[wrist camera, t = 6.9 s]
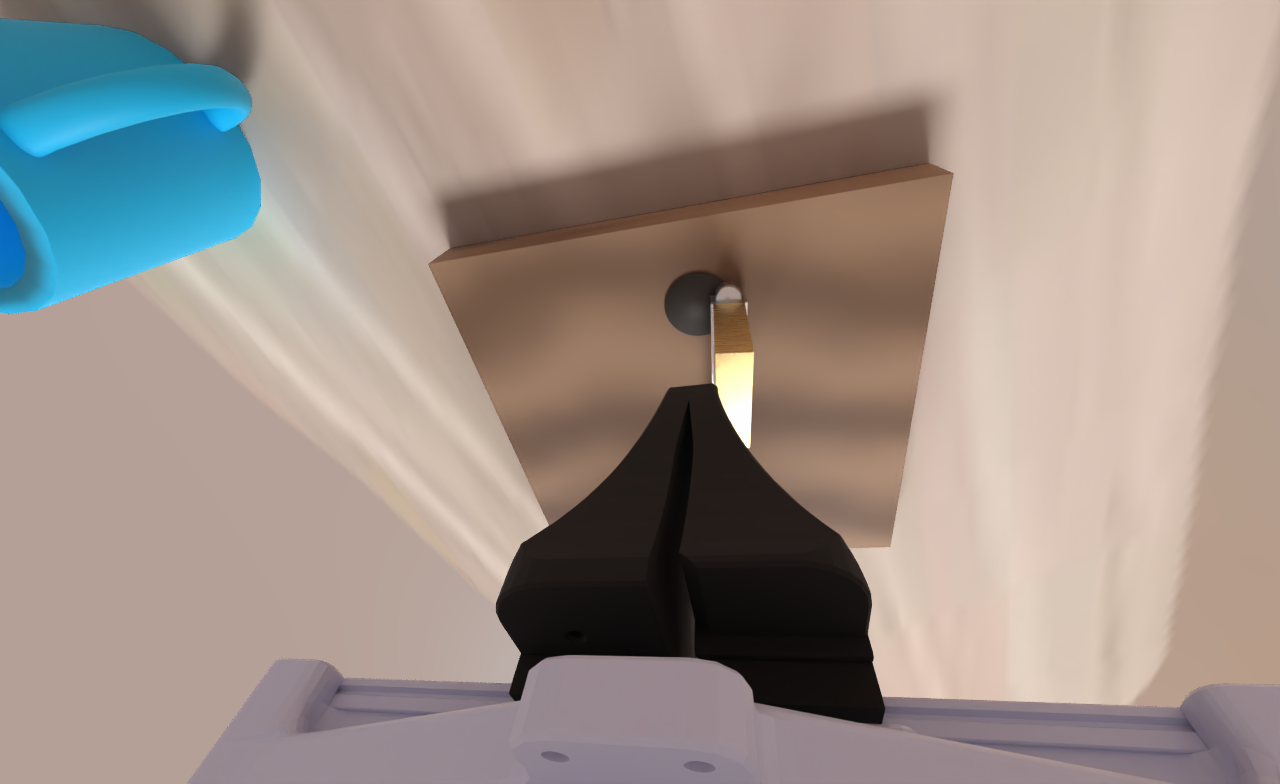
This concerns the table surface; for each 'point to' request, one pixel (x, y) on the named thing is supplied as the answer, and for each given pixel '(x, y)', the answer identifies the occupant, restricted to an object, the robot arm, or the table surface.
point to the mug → (112, 159)
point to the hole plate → (681, 335)
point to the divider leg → (732, 355)
